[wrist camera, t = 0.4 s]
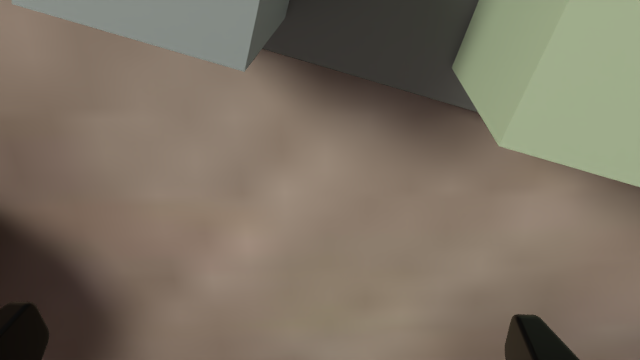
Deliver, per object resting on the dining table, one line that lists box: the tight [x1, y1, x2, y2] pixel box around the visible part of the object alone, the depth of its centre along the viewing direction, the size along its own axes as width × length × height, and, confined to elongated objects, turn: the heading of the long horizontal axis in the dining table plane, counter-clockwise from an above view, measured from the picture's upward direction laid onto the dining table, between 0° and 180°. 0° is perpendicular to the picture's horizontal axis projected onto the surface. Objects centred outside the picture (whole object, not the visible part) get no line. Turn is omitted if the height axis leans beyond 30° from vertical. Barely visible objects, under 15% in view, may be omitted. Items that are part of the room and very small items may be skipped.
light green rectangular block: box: [452, 0, 640, 187], centre depth 16 cm, size 6×6×8 cm
